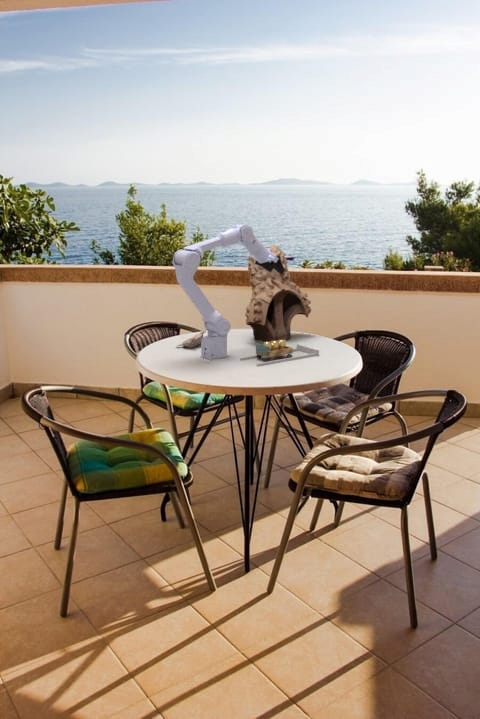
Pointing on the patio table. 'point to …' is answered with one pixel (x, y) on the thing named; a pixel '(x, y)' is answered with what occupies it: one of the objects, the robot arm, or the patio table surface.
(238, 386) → the patio table surface
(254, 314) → the bust
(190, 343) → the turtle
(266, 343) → the part
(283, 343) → the part
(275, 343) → the part
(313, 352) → the track
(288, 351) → the cart
